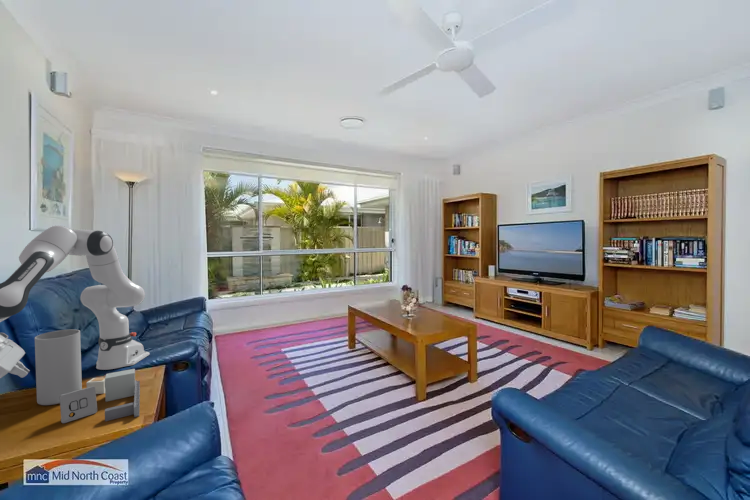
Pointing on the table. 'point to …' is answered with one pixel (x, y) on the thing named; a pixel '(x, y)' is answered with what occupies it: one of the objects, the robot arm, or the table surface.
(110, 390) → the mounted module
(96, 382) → the block
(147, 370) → the table surface
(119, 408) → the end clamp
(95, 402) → the electrical switch
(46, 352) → the cylinder vase
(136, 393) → the rail
